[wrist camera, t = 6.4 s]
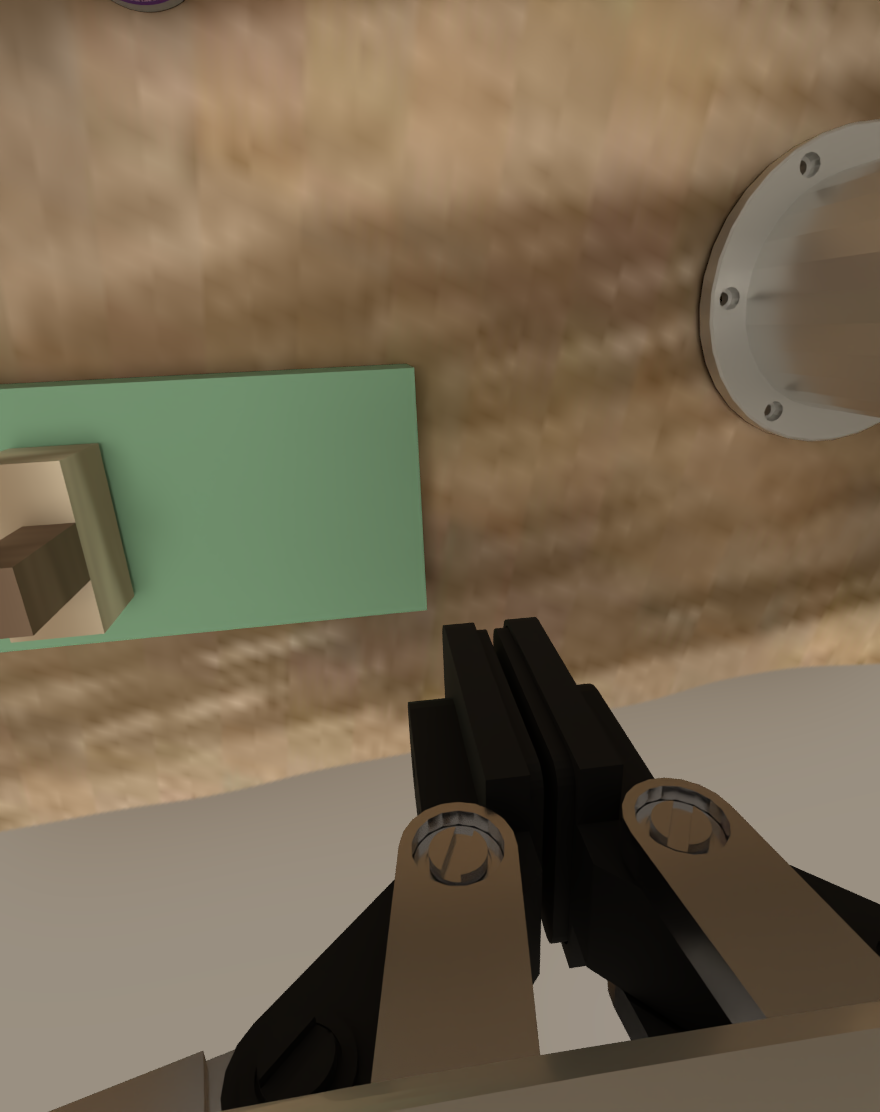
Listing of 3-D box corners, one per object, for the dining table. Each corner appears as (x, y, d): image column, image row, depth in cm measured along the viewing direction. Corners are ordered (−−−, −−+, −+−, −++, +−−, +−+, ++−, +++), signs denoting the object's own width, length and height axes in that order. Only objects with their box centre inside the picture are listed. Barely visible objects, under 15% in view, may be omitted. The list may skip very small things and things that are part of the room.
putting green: (406, 363, 26) (414, 368, 23) (419, 583, 29) (427, 610, 26) (-359, 402, 22) (-459, 412, 20) (-241, 645, 26) (-311, 683, 23)
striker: (98, 442, 22) (-11, 492, 15) (134, 596, 24) (52, 698, 17) (8, 448, 22) (-144, 502, 15) (53, 603, 24) (-63, 711, 17)
